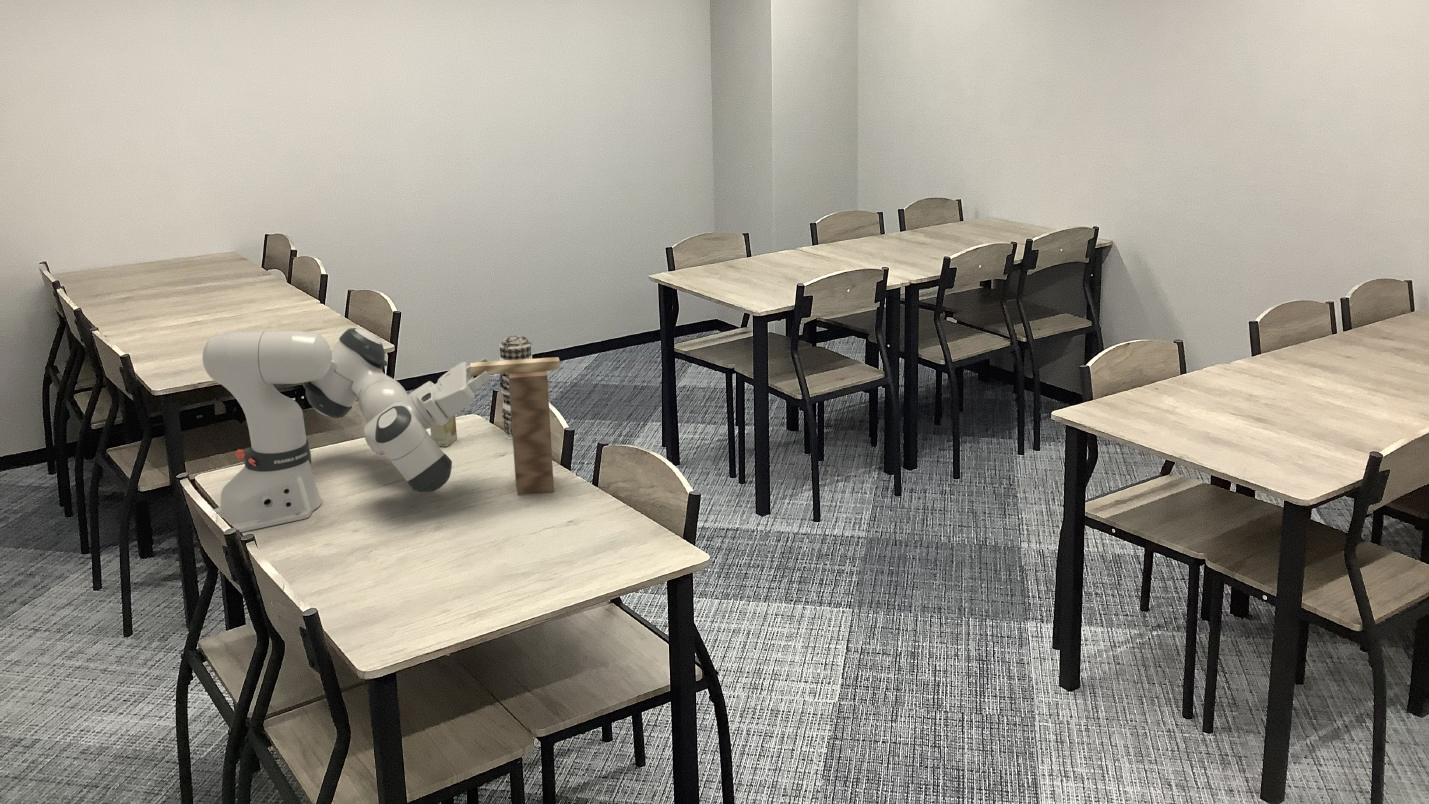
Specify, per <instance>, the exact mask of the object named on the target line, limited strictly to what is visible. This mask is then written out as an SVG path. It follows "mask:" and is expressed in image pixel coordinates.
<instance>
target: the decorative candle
mask: <svg viewBox="0 0 1429 804" xmlns="http://www.w3.org/2000/svg"><path fill="white" fill-rule="evenodd" d="M532 344H533V342H531V341H530V340H528V338H527V337H526V336H523V335H522V336H521V335H511V336H505V338H503V339H502V341H501V342H500V343H499V344H498V347H499V360H498V361H508V360H523V359H533V354H532V348H531V346H533V345H532ZM498 380H499V387H500V388H501V389H500V392H501V394H502V400H503V401H502V410H501V411H502V414H503V415H502V419H504V420H503V421H502V425H503V427H502V428H503V431H504V433H503V436H504V437H505V439H507V440H511V441H513V436H512V421H511V406H510V392H509V377H508V373H505V374H499V377H498Z"/></svg>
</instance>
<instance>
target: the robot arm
mask: <svg viewBox="0 0 1429 804" xmlns="http://www.w3.org/2000/svg"><path fill="white" fill-rule="evenodd" d="M338 339H339V340H338V341H337V342H336V344H335V345H334V346H333V347H332V349H331V346H330V345H329V342H328V341H327V340H326V338H325V337H324V336H323V335H321V334H319V333H315V332H309V331H301V330H296V329H295V330H251V331H250V330H247V331H246V330H245V331H244V330H243V331H231V332H225V333H220V334H216V335H214V336H211V337H210V338H209V339H208V341H207V342H206V343H205V345H204V348H203V351H202V356H201V357H202V365H203V368H204V371H205V372H206V373H207V375H208V376H209V377H210V378H211V379H212V380H213V381H215V382H216V383H218V384H219V385H221V386H223V387H224V388H225V389H226V390H227V391H229V392H230V394H231V395H233V397H234V398H235V399H236V400H237V402H238V404H239V405H240V407H241V408H242V411H243V413H244V415H245V418H246V419H245V420H246V424H247V427H248V433H249V439H250V445H251V446H250V448H249V449H248V450H247V452H246V450H243V449H241V448H240V449H237V450H236V452H235V458H237V459H238V460H240V461H243V463H244V467H242V468H241V470H239V472H238V473H236V474H235V476H233V478H231V479H230V481H228V482H227V483H226V485H224V486H223V488H222V490H221V493H220V507H219V506H218V507H217V508H214V509H213V510H214V511H215V512H216V513H217V514H219V516H221V517H222V518H224V519H225V520H226V521H227V522H228V523H229V524H230V525H232V526H233V527H234V528H236V529H237V530H239V531H240V532H239V533H243V532H248V531H254V530H257V529H263V528H267V527H271V526H277V525H281V524H287V523H291V522H296V521H300V520H305V519H307V518H309V517H310V516H311V515H312V513H313V512H314V511H315V510H316V509H318V508H319V507H320V506H321V505H322V504H323V498H322V497H321V495H320V492H319V491H318V488H317V484H316V482H315V478H314V474H313V470H312V466H311V464H312V453H311V452H312V451H311V447H310V443H309V440H308V439H307V436H306V427H305V421H304V420H305V419H304V412H303V409H302V408H301V406H300V404H299V403H298V402H297V401H296V400H295V399H292V398H290V397H289V396H286V395H284V394H282V393H281V392H280V391H278V389H277V388H276V387H275V386H274V385H279V384H280V385H284V384H286V385H287V384H288V385H289V384H290V385H291V384H294V385H295V384H302V386H303V387H302V388H304V389H305V397H306V399H307V402H308V404H309V405H310V406H311V407H312V408H313V409H314V410H315V411H316V412H317V413H319V414H320V415H323V416H325V417H329V418H333V419H340V418H343V417H345V416H346V415H348V413H349V412H351V410H352V409H353V405H354V404H355V403H356V402H357V400H358V406H359V410H360V413H361V415H362V417H363V418H364V420H365V422H366V425H364V428H363V436H364V439H365V441H366V444H367V446H368V447H369V448H370V450H372V452H374V454H376V455H379V456H385V455H386V457H387V458H388V459H389V461H390V462H391V463H392V464H393V466H394V467H395V468H396V470H398V472H399V473H400V474H401V475H402V476H403V478H404V479H405V480H406V481H407V483H408V485H409V486H410V488H411V489H412V490H413V491H414V492H417V493H418V492H419V493H433V492H435V491H438V490H439V489H440V488H442V487H443V486H444V485H445V484H447V482H448V481H449V479H450V477H451V474H452V469H453V460H452V459H451V458H450V457H449V456H448V455H447V454H446V453H445V452H444V451H443V450H442V449H441V446H438V445H437V443H436V442H435V441H434V440H433V438H432V437H431V434H430V433H429V432H428V431H427V430H429V429H430V428H432V427H434V426H436V425H437V424H438V425H440V426H443V425H445V424H446V423H448V422H449V418H451V417H453V416H454V415H455V416H456V415H457V414H459V413H460V412H461V411H463V410H464V409H465V408H467V407H468V406H469V405H470V404H471V403H473V401H474V400H475V397H476V396H475V391H478V390H479V388H481V387H483V385H484V384H485V383H487V381H490V380H491V374H489V373H488V371H484V372H482V373H480V374H479V375H477V376H476V377H475V378H474V376H471V369H470V364H468V363H467V362H466V361H462V362H460V363H458V364H457V365H455V366H453V367H452V368H451V369H449V370H448V371H447V372H445V373H444V374H442V375H441V376H440V377H439V378H438V379H437V382H436V383H433V382H432V381H431V380H429V381H427V382H425V383H423V384H422V385H421V386H419V387H417V388H416V389H414V390H412V391H410V392H409V393H407V391H406V389H405V388H404V387H403V386H402V385H401V383H400V382H398V380H396V379H394V378H393V377H391V376H389V375H387V374H385V373H384V372H383V370H384V367H387V366H388V361H387V360H385V359H386V352H385V348H384V346H383V343H382V342H381V341H380V339H378V338H377V336H375V335H374V334H373V333H372V332H370V331H367V330H365V329H360V328H355V327H353V328H351V327H350V328H348V329H347V330H345V331H344V332H343V333H342V334H341V336H339V338H338ZM477 362H489V361H488V359H487V358H485V357H484V358H482V359H480V360H478V361H476V362H475V363H477Z"/></svg>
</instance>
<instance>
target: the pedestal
mask: <svg viewBox="0 0 1429 804" xmlns="http://www.w3.org/2000/svg"><path fill="white" fill-rule="evenodd" d="M508 377H509V392H510V406H511V421H512V436H513V440H512V448H513V449H512V450H513V462H514V463H513V464H514V477H515V485H516V494H517V496H521V495H523V494H524V495H532V494H533V493H535V494H543V493H545V492H547V493H554V492H555V487H554V486H555V485H554V471H553V469H554V468H553V453H552V434H551V419H550V418H551V417H550V401H549V385H548V373H547V371H534V372H520V373H508ZM545 494H546V493H545ZM524 495H523V496H524ZM533 495H534V494H533Z"/></svg>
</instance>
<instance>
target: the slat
mask: <svg viewBox="0 0 1429 804" xmlns="http://www.w3.org/2000/svg"><path fill="white" fill-rule="evenodd" d="M476 362H477V363H476ZM476 362H470V364H469V365H470V369H471V376H473V377H474V376H476V377H477V376H479V374H480V373H482V372H484V371H488V373H489V374H490V375H501V374H505V373H520V372H534V371H546V372H547V371H560V370H561V364H560V358H559V357H557V356H556V357H541V358H539V357H538V358H532V359H523V360H508V361H499V360H496V361H494V360H492V361H488V362H479V361H476Z"/></svg>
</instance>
